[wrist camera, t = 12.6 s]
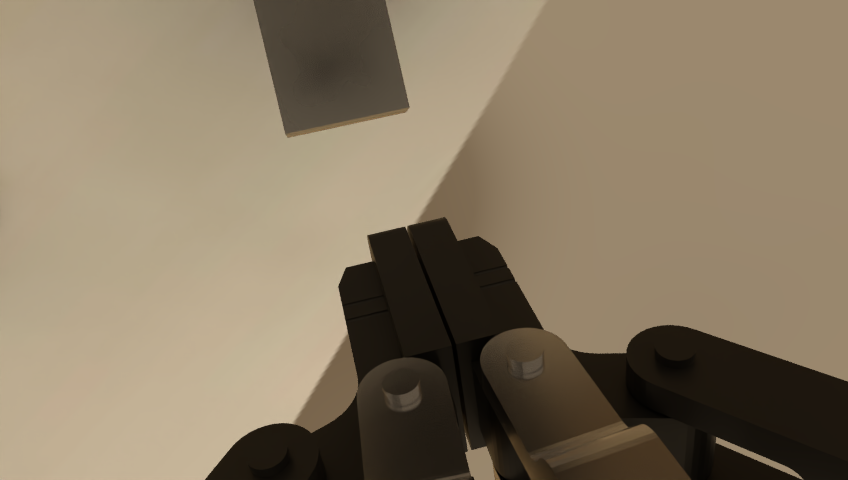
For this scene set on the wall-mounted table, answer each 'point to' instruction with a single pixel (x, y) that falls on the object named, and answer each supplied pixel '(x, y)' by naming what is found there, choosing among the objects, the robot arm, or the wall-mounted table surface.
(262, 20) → the grey rectangular block
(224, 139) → the wall-mounted table surface
